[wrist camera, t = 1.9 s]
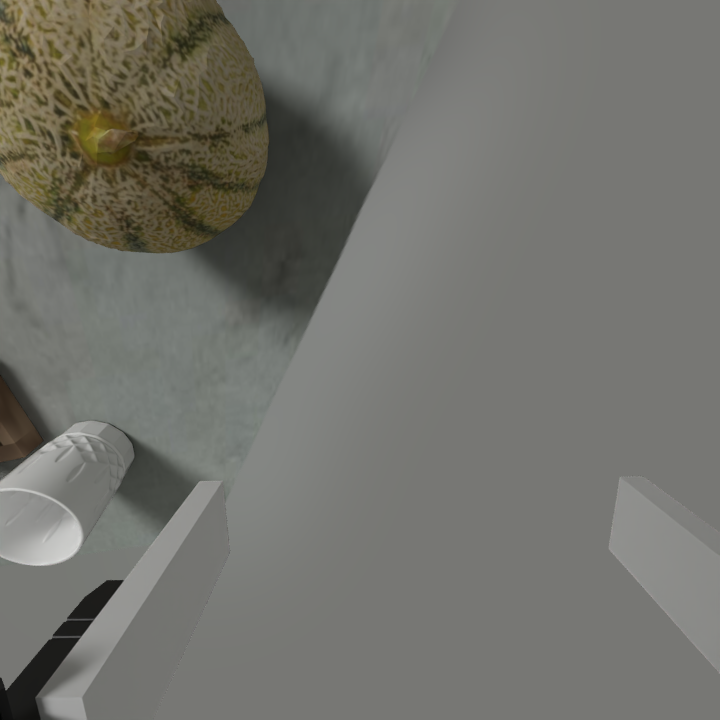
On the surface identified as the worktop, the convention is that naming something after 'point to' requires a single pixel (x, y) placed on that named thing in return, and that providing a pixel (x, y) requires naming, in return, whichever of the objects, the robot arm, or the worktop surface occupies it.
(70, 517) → the white cup
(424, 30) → the worktop surface
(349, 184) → the worktop surface
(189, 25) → the cantaloupe
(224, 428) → the worktop surface
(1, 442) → the board
